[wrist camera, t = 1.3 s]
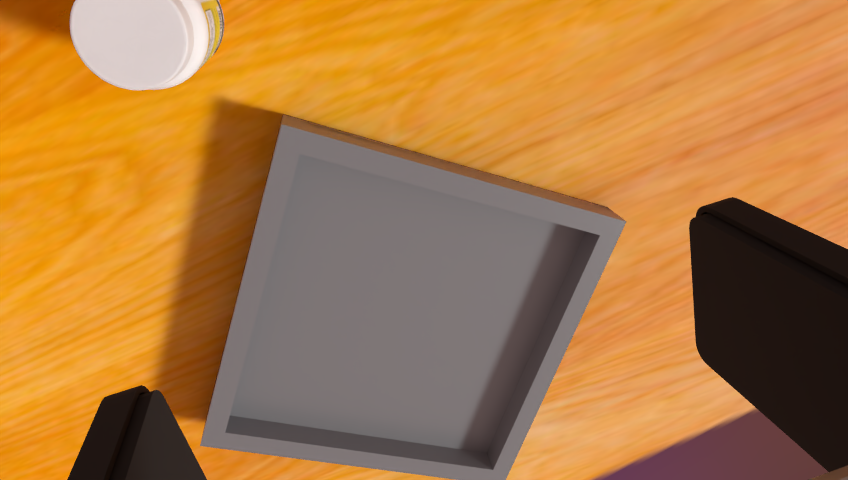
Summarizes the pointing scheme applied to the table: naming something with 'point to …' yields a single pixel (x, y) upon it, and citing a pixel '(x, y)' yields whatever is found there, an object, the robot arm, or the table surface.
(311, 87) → the table surface
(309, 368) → the serving tray
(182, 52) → the supplement bottle
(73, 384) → the table surface
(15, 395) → the table surface
